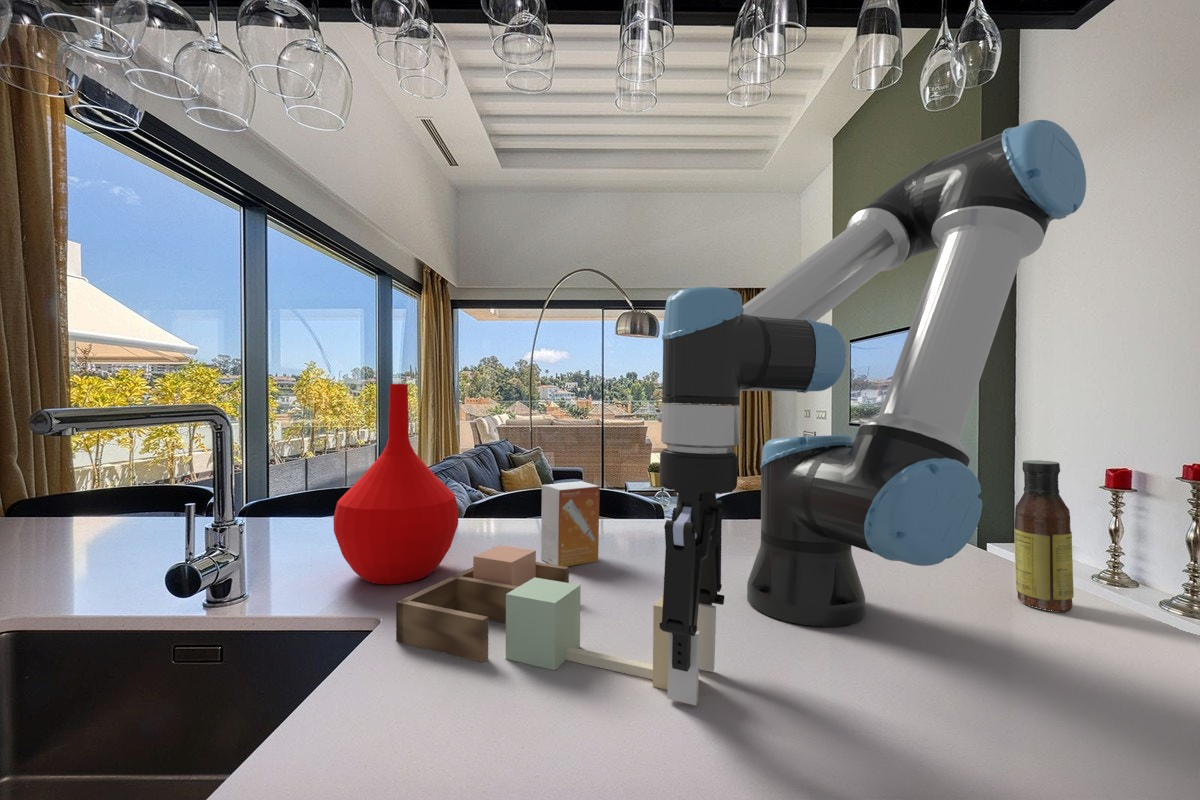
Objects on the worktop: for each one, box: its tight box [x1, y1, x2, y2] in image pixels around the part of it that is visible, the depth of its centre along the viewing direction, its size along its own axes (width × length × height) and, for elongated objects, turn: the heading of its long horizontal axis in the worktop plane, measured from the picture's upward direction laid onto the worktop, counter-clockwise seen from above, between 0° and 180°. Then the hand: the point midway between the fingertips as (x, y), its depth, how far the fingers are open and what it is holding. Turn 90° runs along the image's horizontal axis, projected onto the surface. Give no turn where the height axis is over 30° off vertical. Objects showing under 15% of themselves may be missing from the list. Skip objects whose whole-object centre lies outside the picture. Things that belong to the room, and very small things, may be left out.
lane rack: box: [395, 561, 570, 663], centre depth 71 cm, size 12×20×4 cm, turn 156°
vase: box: [332, 383, 459, 585], centre depth 87 cm, size 18×18×30 cm
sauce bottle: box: [1014, 459, 1075, 613], centre depth 77 cm, size 7×6×20 cm
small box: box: [540, 480, 600, 567], centre depth 95 cm, size 8×6×13 cm
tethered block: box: [505, 577, 669, 691], centre depth 59 cm, size 20×6×8 cm, turn 66°
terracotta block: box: [472, 544, 537, 586], centre depth 76 cm, size 6×6×7 cm
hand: (692, 682), depth 55 cm, fingers open, 6 cm apart
